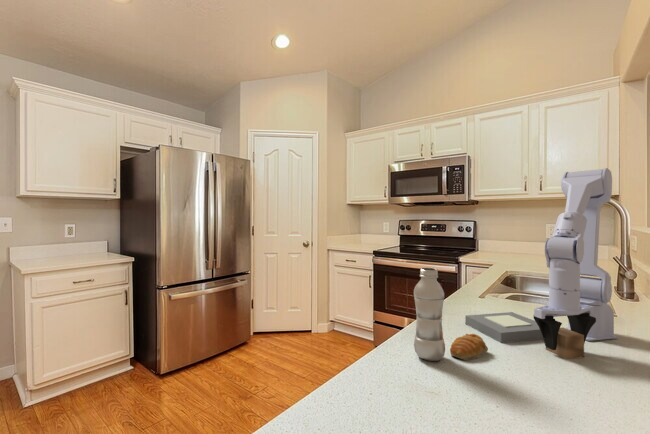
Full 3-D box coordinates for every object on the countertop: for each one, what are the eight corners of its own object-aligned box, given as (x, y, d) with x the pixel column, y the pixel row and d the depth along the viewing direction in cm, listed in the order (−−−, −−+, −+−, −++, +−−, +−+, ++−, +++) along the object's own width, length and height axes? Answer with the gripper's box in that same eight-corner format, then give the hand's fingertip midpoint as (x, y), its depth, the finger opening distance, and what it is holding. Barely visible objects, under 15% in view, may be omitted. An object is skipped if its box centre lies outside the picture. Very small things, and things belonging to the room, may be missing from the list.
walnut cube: (563, 348, 75) (563, 327, 75) (583, 357, 70) (583, 335, 70) (545, 349, 74) (545, 328, 74) (565, 359, 69) (565, 336, 69)
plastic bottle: (442, 367, 65) (441, 272, 65) (410, 360, 69) (409, 269, 69) (448, 356, 71) (447, 268, 71) (418, 349, 74) (417, 265, 74)
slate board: (512, 320, 95) (512, 311, 95) (554, 337, 81) (554, 327, 81) (465, 323, 92) (465, 314, 92) (501, 342, 78) (500, 331, 78)
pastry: (471, 365, 67) (471, 348, 67) (442, 355, 72) (441, 339, 72) (489, 353, 73) (489, 336, 73) (461, 344, 78) (461, 329, 78)
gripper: (573, 283, 78) (573, 337, 78) (523, 286, 75) (523, 342, 75) (603, 289, 71) (603, 349, 71) (549, 293, 68) (550, 355, 68)
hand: (564, 346), depth 72 cm, fingers open, 7 cm apart
